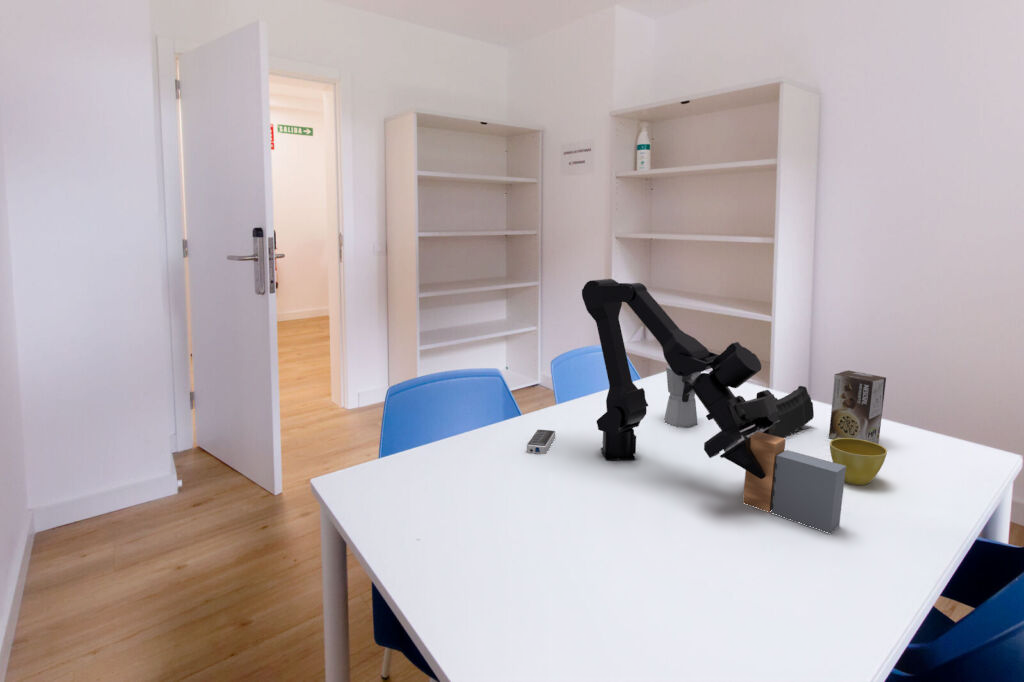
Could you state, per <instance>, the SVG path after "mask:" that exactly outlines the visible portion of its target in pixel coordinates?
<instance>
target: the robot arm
mask: <svg viewBox="0 0 1024 682" xmlns="http://www.w3.org/2000/svg"><path fill="white" fill-rule="evenodd" d="M581 297H582V300H583V303H584V306H585V309H586V311H587V313H588V314H589V315H590V317H592V319H593V320H594V322H595V323H596V328H597V333H598V339H599V342H600V347H601V351H602V357H603V360H604V366H605V369H606V375H607V379H608V384H609V385H608V386H609V388H608V392H607V395H606V399H605V404H606V412H605V413H604V414H602V415H601V416H600V417H599V418H598V419H597V420H596V425H597V429H598V431H601V432H602V447H600V451H601V454H602V455H603V457H604V460H606V461H619V460H620V461H622V460H623V461H624V460H625V461H627V460H629V461H631V460H636V456H635V455H636V449H637V435H635V429H634V428H638V427H639V426H640V423H641V421H642V420H643V419H644V418H645V416H646V415H647V407H649V404H648V402H647V400H646V392H645V389H644V388H643V387H641V388H638V387H637V386H636V385H635V383H634V382H633V378H632V375H631V369H630V366H629V361H628V356H627V350H626V346H625V341H624V338H623V337H624V336H623V331H622V329H621V324H620V313H621V309H622V305H623V303H626V305H628V307H629V308H630V309H631V310H632V312H633V313H634V314H635V315H636V317H637V318H638V319H639V320H640V321H641V322H642V324H643V325H644V326H645V327H646V328H647V330H648V331H649V332H650V333H651V335H652V336H653V337H654V338H655V339H656V341H657V342H658V343H659V344H660V346H661V349H662V352H663V353H662V354H663V357H664V359H665V361H666V363H667V366H670V368H671V370H672V371H673V372H674V373H675V374H676V375H678V376H683V377H686V376H690V375H693V374H696V373H700V372H701V374H700V375H699V376H698V377H696V378H695V379H694V380H692V379H690V380H687V381H685V387H684V390H683V394H684V395H687V394H690V393H693V392H695V396H696V397H697V398H698V400H699V401H700V403H701V404H702V405H703V406H704V408H705V410H706V411H707V412H708V413H707V414H706V415H705V417H706V418H707V420H708V421H712V420H713V421H714V422H715V423H716V425H717V426H718V428H719V429H720V431H718V432H717V433H716V434H714V435H713V436H712V437H711V438H709V439H708V440H706V441H705V442H703V451H704V452H705V453H706V455H707V457H708V458H709V459H712V458H714V457H716V456H718V455H719V454H720V452H722V451H723V453H722V454H720V455H719V457H720V458H721V459H723V458H724V459H726V460H728V461H730V462H731V463H732V464H735V465H737V466H739V467H740V468H742V469H743V470H745V471H746V470H747V471H748V472H750V473H752V474H753V475H755V476H756V477H758V478H760V479H763V478H764V477H766V475H765V473H764V471H763V469H762V467H761V465H760V464H759V462H758V460H757V459H756V457H755V455H754V454H753V452H752V450H751V448H750V444H751V437H749V436H751V435H753V434H755V433H757V432H761V433H765V434H769V435H772V433H773V429H775V425H774V424H775V423H777V422H778V421H780V419H779V418H778V416H777V415H776V414H775V413H776V412H778V411H777V408H776V403H777V402H778V398H777V397H776V396H775V394H773V393H772V392H771V391H770V390H769V389H764V390H762V391H759V392H757V393H756V397H754V398H752V399H749V400H746V399H745V398H744V397H743V396H741V395H736V396H735V394H734V393H733V392H732V391H731V388H733V389H738V388H739V387H741V386H742V385H743V384H744V383H746V382H747V381H749V380H750V379H751V378H752V377H754V376H755V375H756V374H758V373H759V372H760V371H761V370H762V364H761V361H760V359H759V358H758V356H757V354H755V353H753V352H752V351H751V350H750V349H748V348H746V347H745V346H742V344H741V343H739V341H735V342H732V343H731V344H729V345H728V346H727V347H726V349H725V350H724V351H722V352H721V353H720V354H719V353H716V352H712V351H709V350H708V348H707V347H706V346H705V345H704V344H702V343H701V342H700V341H698V340H697V339H696V338H695V337H693V336H691V335H690V334H688V333H685V332H684V331H683V330H682V329H681V328H679V326H678V325H677V324H676V323H675V322H674V320H673V319H672V318H671V317H670V316H669V315H668V314H667V313H666V312H665V310H664V309H663V307H661V306H660V304H659V303H658V302H657V300H655V298H654V297H653V296H652V295H651V293H649V291H648V289H647V287H646V285H645V284H643V283H641V282H633V283H632V282H631V283H629V282H625V283H624V282H620V283H619V282H618V281H616V280H615V279H613V278H604V279H603V278H602V279H594V280H588V281H587V282H585V284H584V286H583V288H581ZM710 369H711V370H710ZM707 370H710V371H709V372H708V373H707V372H704V371H707ZM772 425H774V426H772ZM771 426H772V427H771ZM769 427H770V428H769ZM745 436H746V437H747V439H744V437H745ZM748 437H749V438H748Z"/></svg>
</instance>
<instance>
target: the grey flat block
mask: <svg viewBox="0 0 1024 682" xmlns="http://www.w3.org/2000/svg"><path fill="white" fill-rule="evenodd" d="M845 471H846V466H844V465H841V464H837V463H833V461H830V460H825V459H822V458H818V457H815V456H810V455H807V454H803V453H799V452H797V451H793V450H789V449H786V450H785V451H784V452H782V453H780V454H778V455H777V458H776V463H775V476H774V479H773V482H774V490H772V496H773V502H772V503H771V509H772V511H771V512H770V513H774V514H777V515H780V516H782V517H785V518H787V519H786V520H788V519H791V520H793V521H792V522H794V521H796V522H795V523H797V522H800V523H802V524H805V525H807V526H806V527H808V526H811V527H814V528H817V529H820V530H822V531H825V532H828V533H831V532H832V531H833V532H835V531H836V530H837V529H838V528H839V527H840V521H841V512H842V503H843V497H844V488H845V487H844V486H845V481H844V480H845ZM774 514H773V515H774ZM777 515H776V516H777ZM780 516H779V517H780ZM782 517H781V518H782ZM785 518H784V519H785ZM791 520H790V521H791ZM802 524H801V525H802ZM805 525H804V526H805ZM838 526H839V527H838ZM811 527H810V528H811ZM837 527H838V528H837ZM814 528H813V529H814ZM836 528H837V529H836ZM835 529H836V530H835ZM822 531H821V532H822ZM825 532H824V533H825ZM833 532H832V533H833ZM828 533H827V534H828ZM832 533H831V534H832Z"/></svg>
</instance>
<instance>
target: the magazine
mask: <svg viewBox="0 0 1024 682" xmlns="http://www.w3.org/2000/svg"><path fill="white" fill-rule="evenodd" d="M777 399H778V398H777ZM776 408H777V411H778V412H776V413H775V414H776V415H777V416H778V418H779V419H780V421H778V422H777V423H775V424H774V425H775V429H773V433H772V435H773V436H777V437H781V438H785V437H788V436H789V435H791V434H793V433H795V432H796V431H798V430H802V429H803V428H802V427H804V426H805V425H806V424H807V425H808V423H809V422H810V421H812V420H813V419H814V416H815V415H814V402H813V401H812V399H811V395H810V394H809V391H808V388H807V386H803V385H799V386H798V387H797V389H796V390H795V389H794V390H793V391H792V392H791V393H789V394H787V395H785V396H783V397H781V398H779V399H778V402H777V403H776ZM774 425H772V426H774ZM772 426H771V427H772ZM769 428H770V427H769ZM744 439H747V437H746V436H745V437H744Z"/></svg>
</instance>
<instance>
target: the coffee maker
mask: <svg viewBox="0 0 1024 682" xmlns="http://www.w3.org/2000/svg"><path fill="white" fill-rule="evenodd" d="M665 370H666V382H667V392H668V393H669V395H668V400H667V404H666V409H665V412H664V419H663V420H665V421H664V424H665V423H667V424H666V425H668V424H670V425H669V426H671V425H673V426H672V427H674V426H676V427H675V428H687V427H688V428H689V429H690V428H693V427H696V426H698V424H699V423H698V414H697V413H698V412H697V404H696V403H697V402H696V394H695V392H693V393H690V394H687V395H684V394H683V390H684V387H685V381H687V380H690V379H692V380H694V379H695V378H696V377H698V376H699V375H700V374H701V373H702V372H700V373H696V374H693V375H690V376H686V377H683V376H678V375H676V374H675V373H674V372H673V371H672V370H671V368H670V366H669V365H667V366H666V367H665Z"/></svg>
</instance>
